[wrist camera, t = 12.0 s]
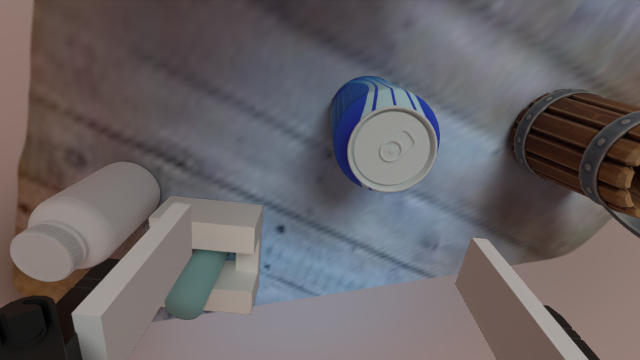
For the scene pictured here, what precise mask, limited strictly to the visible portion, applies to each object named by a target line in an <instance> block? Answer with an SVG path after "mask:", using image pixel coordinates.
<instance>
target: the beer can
mask: <svg viewBox="0 0 640 360" xmlns="http://www.w3.org/2000/svg"><path fill="white" fill-rule="evenodd" d="M330 123H331V131H332V138H333V145H334V152H335V156H336V159H337V162H338V164H339V166H340V168H341V169H342V171H343V172H344V174H345V175H346V176H347V177H348V178H349V179H350V180H351V181H353V182H354V183H356V184H357V185H359V186H361V187H363V188H366V189H369V190H373V191H381V192H397V191H402V190H405V189H407V188H410V187H412V186H414V185H415V184H417V183H418V182H419V181H421V180H422V179H423V178H424V177H425V176H426V175H427V173H428V172H429V171H430V169H431V167H432V166H433V164H434V161H435V158H436V154H437V151H438V148H439V140H440V132H439V126H438V122H437V119H436V117H435V115H434V113H433V111H432V110H431V108H430V107H429V106H428V105H427V104H426V103H425V101H423V100H422V99H421V98H420V97H418V96H417V95H415V94H413V93H411V92H409V91H407V90H405V89H403V88H401V87H398V86H396V85H394V84H392V83H390V82H388V81H386V80H384V79H382V78H379V77H374V76H363V77H358V78H355V79H353V80H351V81H349V82H347V83H346V84H345V85H343V86H342V87H341V88H340V89H339V91H338V92H337V93H336V95H335V97H334V99H333V101H332V103H331V107H330Z"/></svg>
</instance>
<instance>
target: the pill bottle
mask: <svg viewBox="0 0 640 360" xmlns="http://www.w3.org/2000/svg"><path fill="white" fill-rule="evenodd" d="M159 201H160V188H159V185H158V183H157V181H156V179H155V178H154V176H153V175H152V174H151V173H150V172H149V171H148V170H146V169H145V168H143V167H142V166H140V165H137V164H135V163H131V162H115V163H112V164H109V165H107V166H105V167H103V168H101V169H100V170H98V171H96V172H94V173H92V174H91V175H89V176H87V177H85V178H84V179H82V180H80V181H78V182H77V183H75V184H73V185H71V186H70V187H68V188H66V189H64V190H63V191H61V192H59V193H57V194H56V195H54V196H52V197H50V198H48V199H47V200H45V201H43V202H42V203H41V204H39V205H38V206H37V207H36V209H35V210H34V211H33V212H32V214H31V216H30V218H29V221H28V229H26V230H24V231H23V232H21V233H20V234H18V235H17V236H16V237H15V238H14V239H13V240H12V242H11V246H10V254H11V257H12V260H13V261H14V263H15V264H16V266H17V267H18V268H19V269H20V270H21V271H22V272H24V273H25V274H27V275H28V276H30V277H32V278H34V279H37V280H41V281H47V282H53V281H59V280H62V279H64V278H66V277H68V276H69V275H70V274H71V273H72V272H73V271H74V270H75V269H84V268H89V267H93V266H95V265H97V264H99V263H101V262H103V261H105V260H106V259H107V258H108V257H109V256H110V255H111V254H112V253H113V252H114V251H115V250H116V249H117V248H118V247H119V246H120V245H121V244H122V243H123V242H124V241H125V240H126V239H127V238H128V237H129V236H130V235H131V234H132V233H133V232H134V231H135V230H136V229H137V228H138V227H139V226H140V225H141V224H142V223H143V222H144V221H145V220H146V219H147V218H148V217H149V216H150V215H151V214H152V213H153V212H154V211H155V209H156V208H157V206H158V204H159Z"/></svg>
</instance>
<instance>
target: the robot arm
mask: <svg viewBox="0 0 640 360" xmlns="http://www.w3.org/2000/svg"><path fill="white" fill-rule="evenodd" d="M191 256H192V223H191V204H183V203H173V204H172V205H171V206H170V207H169V208H168V210H167V211H166V212H165V213H164V214H163V215H162V216H161V217H160V218H159V219H158V220H157V221H156V223H155V224H154V225H153V226H152V227H151V228H150V229H149V230H148V231H147V232H146V233H145V234H144V236H143V237H142V238H141V239H140V240H139V241H138V242H137V243H136V244H135V245H134V246H133V247H132V249H131V250H130V251H129V252H128V253H127V254H126V255H125V256H124V257H123V258H122V259H121V260H118V259H109V258H108V259H107V260H105V261H103V262H101V263H99V264H98V265H96V266H94V267H93V268H92V269H91V270H90V271H89V272H88V273H87V274H86V275H85V276H84V277H83V279H81V280H80V281H79V282H78V283H77V284H75V286H74V288H71V289H70V290H69V291H68V292H67V293H66V294H65V295H64V296H63V297H62V298H61V299H60V300H59V301H58V302H57V303H56V304H55V302H54V301H53V299H52V298H49V297H47V296H30V297H25V298H21V299H18V300H16V301H13V302H10V303H9V304H7V305H5V306H4V307H2V308H0V360H128V359H129V357H130V356H131V354H132V352H133V351H134V349H135V348H136V346H137V344H138V343H139V341H140V339H141V338H142V336H143V334H144V333H145V331H146V330H147V328H148V326H149V325H150V323H151V321H152V320H153V318H154V316H155V315H156V313H157V312H158V310H159V308H160V307H161V305H162V303H163V302H164V300H165V298H166V297H167V295H168V294H169V292H170V290H171V289H172V287H173V285H174V284H175V282H176V280H177V279H178V277H179V276H180V274H181V272H182V271H183V269H184V267H185V266H186V264H187V262H188V261H189V259H190V258H191ZM455 285H456V286H457V288H458V290H459V292H460V294H461V295H462V297H463V299H464V301H465V303H466V305H467V306H468V308H469V310H470V312H471V313H472V315H473V317H474V319H475V321H476V323H477V324H478V326H479V328H480V330H481V332H482V334H483V335H484V337H485V339H486V341H487V343H488V345H489V346H490V348H491V350H492V352H493V353H494V355H495V357H496V359H497V360H600V359H599V358H598V357H597V356H596V355H595V353H594V352H593V351H592V350H591V349H590V348H589V347H588V346H587V344H586V343H585V342H584V341H583V340H581V338H580V336H579V335H578V334H577V333H576V332H575V331H574V330H572V327H571V326H570V325H569V324H568V323H567V321H566V320H565V319H564V318H563V317H562V316H561V315H560V314H558V313H557V312H556V311H554V310H553V309H552V308H550V307H549V306H546V305H542V304H541V302H540V301H539V300H538V299H537V298H536V296H535V295H534V294H533V293H532V292H531V291H530V289H529V288H528V287H527V286H526V285H525V284H524V282H523V281H522V280H521V279H520V277H519V276H518V275H517V274H516V273H515V271H514V270H513V269H512V268H511V267H510V265H509V264H508V263H507V262H506V261H505V259H504V258H503V257H502V256H501V255H500V254H499V252H498V251H497V250H496V249H495V248H494V246H493V245H492V244H491V243H490V242H489V240H488V239H480V238H472V239H471V241H470V244H469V247H468V250H467V253H466V255H465V258H464V261H463V264H462V266H461V269H460V272H459V275H458V278H457V280H456V283H455Z"/></svg>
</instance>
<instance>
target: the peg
mask: <svg viewBox="0 0 640 360" xmlns="http://www.w3.org/2000/svg"><path fill="white" fill-rule="evenodd" d="M228 254H229V252H223V251H213V250H202V249H196V250H195V251H194V253H193V254H192V256H191V258H190V259H189V261H188V262H187V264H186V266H185V267H184V269H183V271H182V272H181V274H180V276H179V277H178V279H177V280H176V282H175V284H174V285H173V287H172V289H171V290H170V292H169V294H168V295H167V297H166V298H165V307H166V309H167V311H168V312H169V313H170V314H171V315H173V316H174V317H176V318H179V319H184V320H191V319H195V318H197V317H198V316H199V315H200V314H201V313H202V311H203V309H204V307H205V305H206V303H207V300H208V298H209V296H210V294H211V291H212V289H213V287H214V285H215V282H216V280H217V278H218V276H219V274H220V271H221V269H222V267H223V265H224V262H225V260H226V258H227V256H228Z"/></svg>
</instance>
